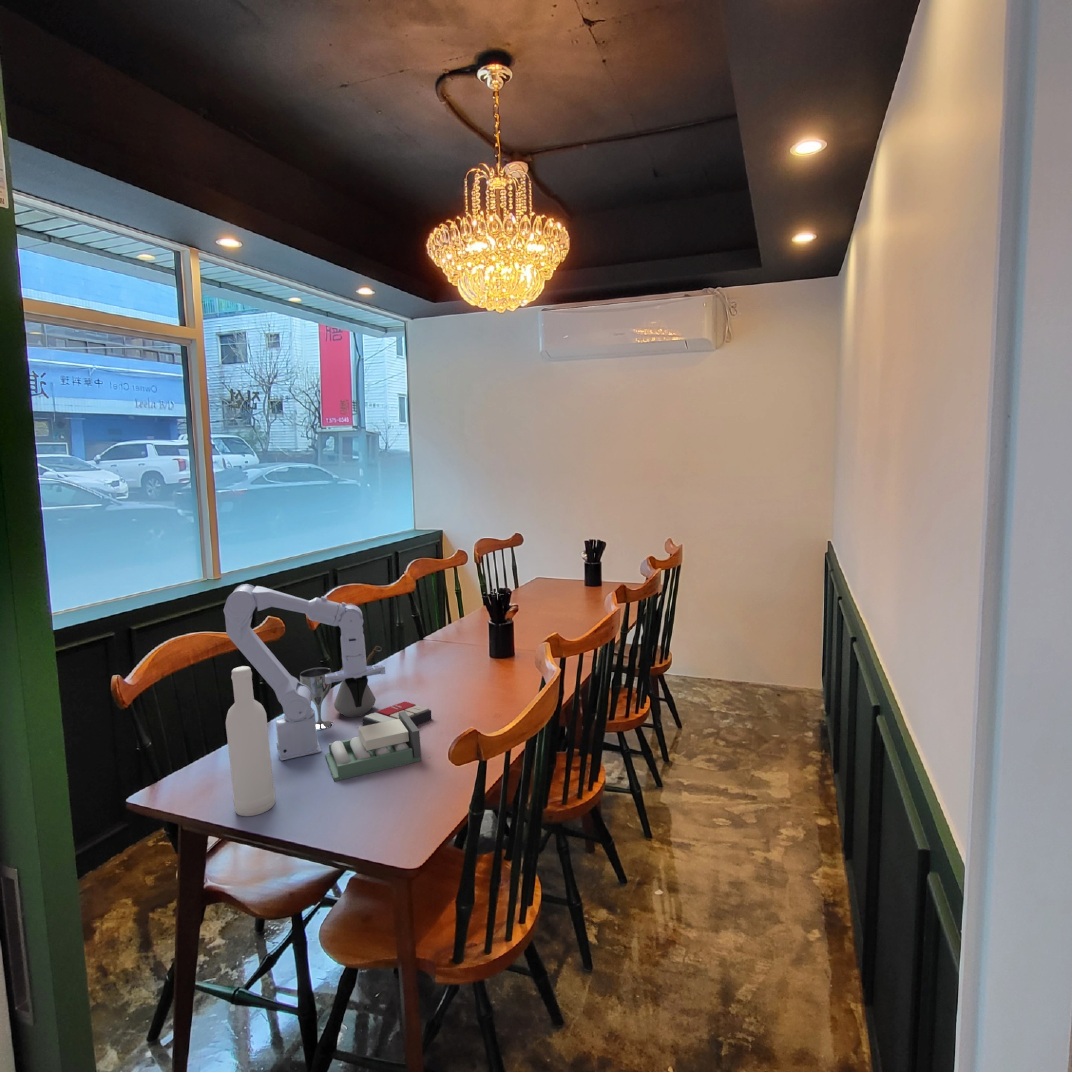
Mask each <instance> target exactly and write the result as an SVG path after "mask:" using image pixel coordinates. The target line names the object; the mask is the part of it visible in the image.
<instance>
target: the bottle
mask: <svg viewBox="0 0 1072 1072" xmlns="http://www.w3.org/2000/svg"><path fill="white" fill-rule="evenodd" d="M230 678H231V680H232V689H233V697H234V698H233V699H234V703H233V704H232V705H231V706H230V708H228V711H227V714H226V719H225V729H226V730H225V731H226V737H227V747H228V755H229V756H228V757H229V765H230V774H231V775H230V776H231V782H232V783H231V785H232V793H233V806H234V811H235V813H236V814H237V815H238V816H241V817H253V816H258V815H261V814H263V813H266V812H267V811H269V810H270V809H272V808H273V807H274V806H275V804H276V794H275V793H276V792H275V786H274V777H273V768H272V767H273V766H272V758H271V748H270V738H269V728H268V718H267V712H266V709H265V708H264V705H262V703H261V702H259V701H258V700H256V699H255V697H254V689H253V687H254V685H253V680H252V679H253V672H252V670H251V667H250V666H246V665H241V666H238V667H235V668H233V669H232V670H231V677H230Z"/></svg>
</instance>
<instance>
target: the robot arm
mask: <svg viewBox="0 0 1072 1072" xmlns="http://www.w3.org/2000/svg"><path fill="white" fill-rule="evenodd" d="M256 608H257V612H259V611H263V610H266V609H269V608H276V609H282V610H286V611H291V612H296V613H301V614H305V615H306V616H307V618H308V620H310V621H313V622H316V623H321V624H325V625H329V626H331V627H332V626H333V627H339V628H340V634H341V635H340V648H341V660H342V668H343V670H341V669H340V670H341V671H340V670H339V671H335V672H331V674H326V675H325V682H326V684H331V685H332V683H335V682H336V683H338V682H342V681H343V680H344V681H345V683H346V684H347V686H348V688H349V690H350V692H351V694H352V696H353V700H354V704H355V707H361V706H362V698H363V694H364V691H365V688H366V686H367V684H368V682H369V678H368V677H370V676H371V677H372V676H375V675H386V667H385V665H384V664H378V665H368V664H367V665H366V659H367V657H366V656H367V655H366V642H365V634H364V627H363V624H364V619H363V616H364V615H363V611H362V610H361V608H360V607H358V605H355V604H353V603H346V602H343V601H342V602H341V603H340V602H336V601H334V600H333V601H332V600H329V599H328V597H327V596H321V597H314V598H313V599H311V600H308V599H305V598H302V597H297V596H294V595H291V594H288V593H284V592H281V591H278V590H274V589H272V588H267V587H265V586H260V585H256V586H254V585H252V584H248V583H245V584H240V585H238V586H236V587H235V589H234V590H233V592H232V593H230V594H229V595H228V596H227V598H226V601H225V604H224V608H223V614H224V619H225V620H224V621H225V630H226V631H225V632H226V633H225V634H226V636H227V637H228V639H230V641H231V642H232V643H233V644H234V645H235V647H236V648H238V650H239V651H240V652H241V653H242V655H243V656H244V657H245V658H246V659H247V660H248V662H250V663H249V664H251V665H252V666H253V668H254V669H256V671H257V672H258V673H259V674H260V675H261V677H262V678H263V679H264V680H265V682H266V683H267V684H268V685H269V686H270V687H271V689H273V692H274V693H275V696H276V699H277V701H278V703H279V704H281V706H282V710H283V711H282V712H283V714H284V715H283V718H280V719H275V729H276V737H277V738H276V739H277V740H276V741H277V742H276V750H277V751H278V755H279V759H280V761H284V760H285V761H287V760H290V759H291V760H292V759H294V758H295V759H296V758H299V757H305V756H308V755H313V754H318V753H321V752H322V748H321V745H320V742H319V740H318V734H317V732H318V731H316V721H317V720H316V713H315V712H316V711H315V710H314V708H312V706H311V704H312V702H313V701H312V697H313V694H312V691H311V689H310V688H309V687H308V686H307V685H304V684H302V683H301V681H300V680H299V679H298V678H297V677H295V676H293V675H291V673H289V672H288V670H287V669H286V668H285V667H284V665H283V664H282V663H281V662H280V661H279V660H278V659H277V657H276V656H275V654H274V653H273V652H272V651H271V650H270V649H269V648H268V646H267V645H266V644H265V643H264V641H262V639H261V637H259V636H258V634H257V633H256V632H255V631H254V630H253V628H252V627H251V625H252V624H251V623H252V621H253V620H252V619H253V614H254V611H255V609H256Z"/></svg>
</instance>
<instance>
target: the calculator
mask: <svg viewBox="0 0 1072 1072" xmlns="http://www.w3.org/2000/svg"><path fill="white" fill-rule="evenodd" d="M403 711H405V712H406V713H407V715H408V716H409V717H410V719H411V720H412V721H413V723H414V724H415V725H416V727H418V726H421V725H422V724H425V723H427V722H430V721H432V709H430V708H428V707H425V706H423V705H418V704H416V703H412V702H409V701H402V702H400V703H399V702H398V703H396V704H393V705H391V706H387V707H385V708H382V709H379V710H377V711H376V712H373V713H370V714H367V715H366V714H365V716H363V717H362V720H361V721H362V726H367V725H371V724H376V723H381V722H386V721H390V720H395V719H399V712H403ZM429 720H430V721H429Z"/></svg>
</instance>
